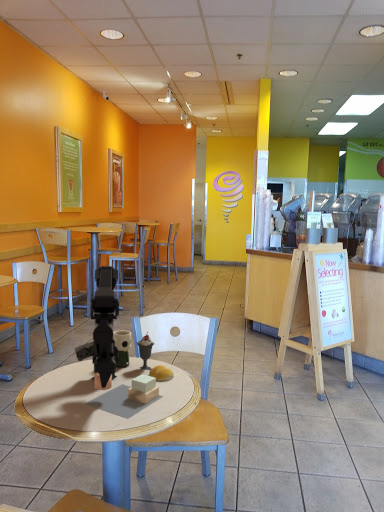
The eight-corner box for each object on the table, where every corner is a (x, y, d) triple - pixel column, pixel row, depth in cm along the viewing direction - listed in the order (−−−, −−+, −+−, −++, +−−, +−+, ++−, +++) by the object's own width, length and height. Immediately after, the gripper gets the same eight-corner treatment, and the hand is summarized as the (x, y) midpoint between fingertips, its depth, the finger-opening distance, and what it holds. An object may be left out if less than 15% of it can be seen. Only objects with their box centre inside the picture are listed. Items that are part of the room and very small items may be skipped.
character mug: (119, 371, 152) (119, 337, 151) (104, 367, 156) (105, 334, 155) (137, 363, 161) (138, 331, 160) (123, 359, 165) (124, 328, 164)
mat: (84, 404, 124) (84, 403, 124) (122, 385, 139) (122, 384, 139) (127, 420, 115) (127, 418, 115) (163, 397, 131) (163, 396, 131)
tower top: (131, 388, 128) (131, 379, 128) (142, 383, 133) (142, 374, 133) (145, 392, 126) (145, 383, 125) (155, 387, 130) (156, 377, 130)
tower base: (127, 398, 128) (128, 389, 128) (141, 390, 134) (141, 381, 134) (145, 403, 125) (146, 394, 125) (158, 395, 131) (159, 386, 131)
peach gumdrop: (90, 387, 125) (91, 374, 125) (102, 382, 129) (102, 369, 129) (103, 391, 122) (103, 378, 122) (115, 385, 127) (115, 373, 126)
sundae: (146, 373, 151) (147, 334, 150) (132, 369, 154) (133, 330, 153) (157, 368, 156) (158, 330, 155) (143, 364, 160) (144, 327, 159)
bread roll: (160, 384, 142) (160, 373, 141) (145, 376, 148) (146, 365, 148) (178, 379, 147) (179, 368, 147) (163, 371, 154) (164, 361, 154)
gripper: (77, 327, 131) (76, 374, 133) (76, 345, 113) (75, 399, 115) (112, 326, 134) (111, 372, 136) (116, 343, 116) (115, 395, 118)
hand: (103, 384), depth 126 cm, fingers closed on peach gumdrop, 5 cm apart
